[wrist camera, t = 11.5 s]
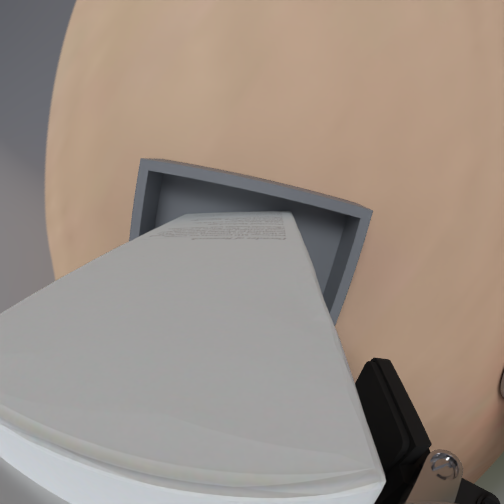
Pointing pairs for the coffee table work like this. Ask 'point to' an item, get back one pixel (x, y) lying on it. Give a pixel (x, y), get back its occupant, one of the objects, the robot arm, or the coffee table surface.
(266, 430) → the skincare box
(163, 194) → the tray
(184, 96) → the coffee table surface
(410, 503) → the robot arm
